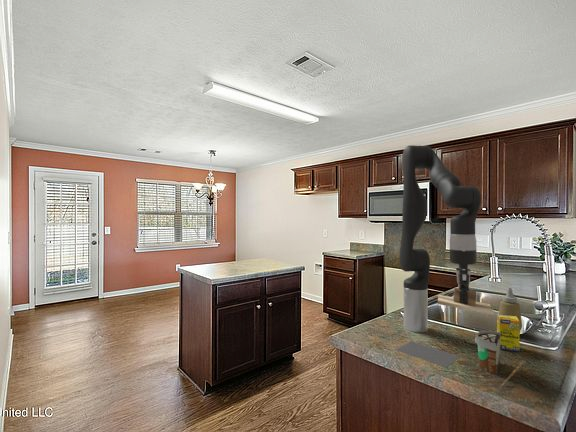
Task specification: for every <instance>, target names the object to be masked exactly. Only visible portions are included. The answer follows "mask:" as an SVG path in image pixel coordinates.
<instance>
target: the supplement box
mask: <svg viewBox="0 0 576 432" xmlns="http://www.w3.org/2000/svg"><path fill="white" fill-rule="evenodd" d="M496 324H497V325H496V332H500V336H501V338H500V351H501V350H504V351H509V352H515V353H520V338H521V337H520V334H521V333H520V332H521V330H520V321H519V320H518V318H517V317H516V316H507V315H500V314H499V313H497V314H496Z"/></svg>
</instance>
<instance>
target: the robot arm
mask: <svg viewBox="0 0 576 432" xmlns="http://www.w3.org/2000/svg"><path fill="white" fill-rule="evenodd" d="M417 169H418V170H420V169H421V170H424V169H426V170H428V171H430V173H429V174H430V175H429V179H430V182H431V183H432V185H433V186H434V187H435V188H436V189H437V190H438V191H439V192H440V195H441V197H442V199H443V203H444V205H447V207H450V208H452V209H462V211H461V212H460V214H458V215H454V216H452V217H451V218H450V220H449V221H450V225H449V226H450V234H449V235H450V236H449V237H450V238H449V262H450V263H451V264H458V267H456V268H455V274H456V282H457V285H458V286H457V288H459V291H460V303H461V304H467V303H468V291H469V290H470V287H469V286H470V285H471V269H470V268H468V266H469V265H476V264H477V236H476V220H477V217H478V213H479V210H480V207H481V202H482V193H481V191H480V189H479V188H477V187H476V186H474V185H473V186H472V185H471V186H469V185H467V186H466V185H462V184H461V180H460V178H459V177H458V176H457V175H456V174H454V173H453V172H452V171H451V170H449V169H448V168H447V167H446V166H445V164H444V163H443V162H442V160H441V159H440V157H439V156H438V154H437V153H436V151H435V150H434V149H433V148H432V147H430V146H428V145H412V144H411V145H407V146H405V148H404V149H403V152H402V179H403V192H402V196H403V197H402V212H401V213H402V221H401V225H402V226H401V239H400V247H399V254H398V256H399V257H398V259H399V260H398V261H399V266H400V268H401V270H402V271H404V272H406V273H407V272H409V273H410V272H413V274H412V275H411V276H410V277H407V278H405V279H404V281H403V328H404V329H405V330H407V331H409V332H413V333H427V332H428V331H429V329H428V326H429V325H428V323H429V319H428V317H429V316H428V312H429V311H428V310H429V308H428V305H429V304H428V303H429V301H428V300H429V299H428V296H429V295H428V292H429V291H428V290H429V289H428V285H429V282H430V270H431V269H430V268H431V258H430V255H429V252H428V251H427V250H426V249H424V248H414V242H415V239H416V236H417V234H418V233H419V231H420V229H421V228H422V227H423V225H424V223H425V222H426V219H427V216H428V215H427V213H428V212H427V211H428V201H427V198H426V196H425V194H424V192H423V191H422V188H421V187H420V186H419V184H418V181H417V178H416V170H417Z"/></svg>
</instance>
